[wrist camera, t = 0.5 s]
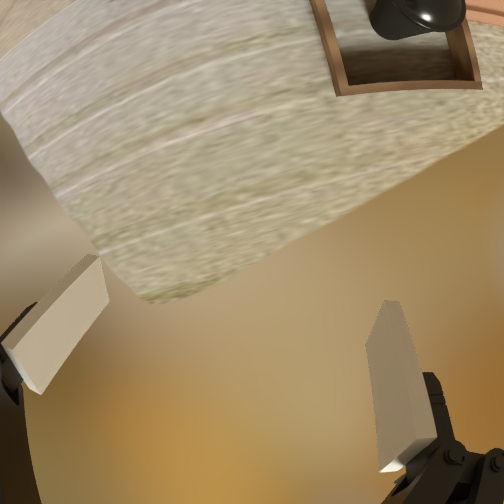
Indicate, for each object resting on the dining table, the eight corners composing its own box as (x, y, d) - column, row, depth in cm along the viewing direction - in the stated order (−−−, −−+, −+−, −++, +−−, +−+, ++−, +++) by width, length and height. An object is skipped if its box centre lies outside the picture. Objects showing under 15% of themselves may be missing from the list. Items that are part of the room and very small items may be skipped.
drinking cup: (347, 6, 26) (384, -69, 8) (397, -8, 23) (465, -72, 6) (377, 58, 28) (448, 25, 11) (426, 42, 26) (520, 14, 8)
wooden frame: (298, -30, 24) (297, -45, 20) (428, -31, 20) (442, -43, 15) (336, 96, 32) (341, 96, 28) (463, 88, 27) (482, 89, 23)
